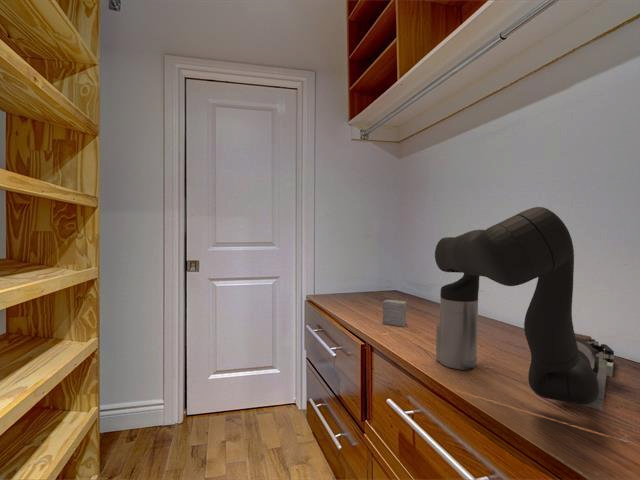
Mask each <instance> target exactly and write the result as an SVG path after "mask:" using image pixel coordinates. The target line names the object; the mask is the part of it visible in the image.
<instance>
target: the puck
mask: <svg viewBox="0 0 640 480" xmlns="http://www.w3.org/2000/svg"><path fill="white" fill-rule="evenodd" d="M598 369H599V359H597V360H595V363H594V369H593V371H594V372H598Z"/></svg>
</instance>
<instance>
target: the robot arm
mask: <svg viewBox="0 0 640 480" xmlns="http://www.w3.org/2000/svg"><path fill="white" fill-rule="evenodd" d="M434 259H435V263H436V265H437V268H438V269H439V270H440V271H442V272H444V273H456V274H457V273H460V274H461V273H463V276H462V277H460V279H459V278H458V280H456V281H454V282H450V283H447V284H444V285H443V286H441V288H440V293H439V294H440V295H439V296H440V302H439V303H440V304H439V305H440V307H439V308H440V309H439V324H437V325H436V331H435V332H436V336H435V337H436V339H435V361H438V362H439V363H440V364H441V365H442V366H445V367H447V368H450V369H455V370H461V371H462V370H467V371H469V370H473V369H475V367H477V366H478V365H477V363H478V362H477V361H478V357H477V356H478V329H479V328H478V327H479V326H478V325H479V324H478V323H479V321H478V319H479V318H478V317H479V291H480V277H485V278H488V279H489V280H491V281H493V282H496V283H497V284H500V285H503V286H506V287H515V286H517V287H518V286H521V285H523V284H526V283H529V282H530V281H533V280H535V279H536V278H537V281H536V286H535V289H534V293H533V294H532V298H531V299H530V302H529V305H528V307H527V309H526V312H525V317H524V322H523V323H524V324H523V330H524V336H525V339H526V342H527V345H528V348H529V352H530V359H531V360H530V364H529V369H528V384H529V387H530V389H531V390H532V391H533V393H535V394H536V395H537V396H539V397H540V398H544V399H547V400H554V401H558V402H559V401H560V402H565V403H570V404H571V403H572V404H576V405H582V406H584V405H587V404H591V403H593V402H594V401H595V400H596V399H597V397H598V394H599V384H598V380H597V377H596V375H595V372H594V371H593V369H594V363H595V360H597V359H599V357H600V358H603V360H606V361H607V362H609V363H613V364H614V361H615V360H614V359H615V358H614V357H615V355H614V354H615V351H614V350H613V349H612V347H609V346H608V344H605V343H603V344H599V341H596V339H594V338H593V339H592V340H591V342H588V341H587V342H586V341H585V340H583V339H581V338H578V337H575V333H576V332H575V330H574V323H573V312H572V311H573V296H574V295H573V293H574V271H575V250H574V244H573V239H572V237H571V234H570V232H569V229H568V227H567V226H566V224H565V222H564V221H563V220H562V219H561V218H560V217H559V216H558V215H557V214H556V213H554V211H552V210H550V209H549V208H546V207H544V206H535V207H531V208H527V209H526V210H523V211H520V212H518V213H517V214H515V215H513V216H511V217H508V218H506V219H504V220H502V221H500V222H498V223H496V224H493V225H491V226H490V227H488V228H486V229H474V230H471V231H467V232H465V233H462V234H460V235H457V236H455V237H453V236H451V237H448V236H447V237H443V238H440V239H439V241H438V242H437V244H436V246H435V250H434Z"/></svg>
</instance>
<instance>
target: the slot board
mask: <svg viewBox="0 0 640 480" xmlns="http://www.w3.org/2000/svg"><path fill="white" fill-rule="evenodd" d="M595 375H596V377H597V380H598V384H599V394H598V397H597V399H596V400H595V401H594V402H593V403H591V404H587V405H583V406H585V407H588V408H592V409H595V410H600V411H603V406H604V398H605V391H606V383H607V379H608V378H607V377H608V376H607V363H605V362H600V361H599V369H598V372H595Z"/></svg>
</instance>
